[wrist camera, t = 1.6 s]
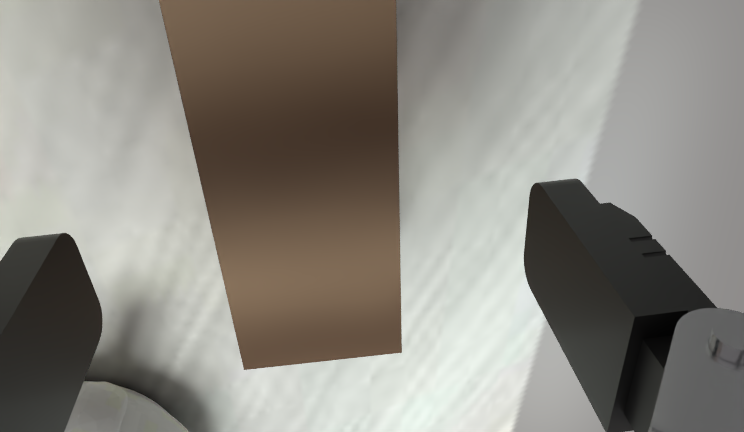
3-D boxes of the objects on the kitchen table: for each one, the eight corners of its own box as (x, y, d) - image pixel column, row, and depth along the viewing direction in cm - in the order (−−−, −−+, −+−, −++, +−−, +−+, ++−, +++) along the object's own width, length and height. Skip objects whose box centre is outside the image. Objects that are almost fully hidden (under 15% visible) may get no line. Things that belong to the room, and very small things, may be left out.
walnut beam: (167, -234, 14) (99, -260, 9) (357, -242, 14) (391, -272, 9) (255, 244, 22) (244, 369, 17) (377, 232, 22) (401, 352, 17)
